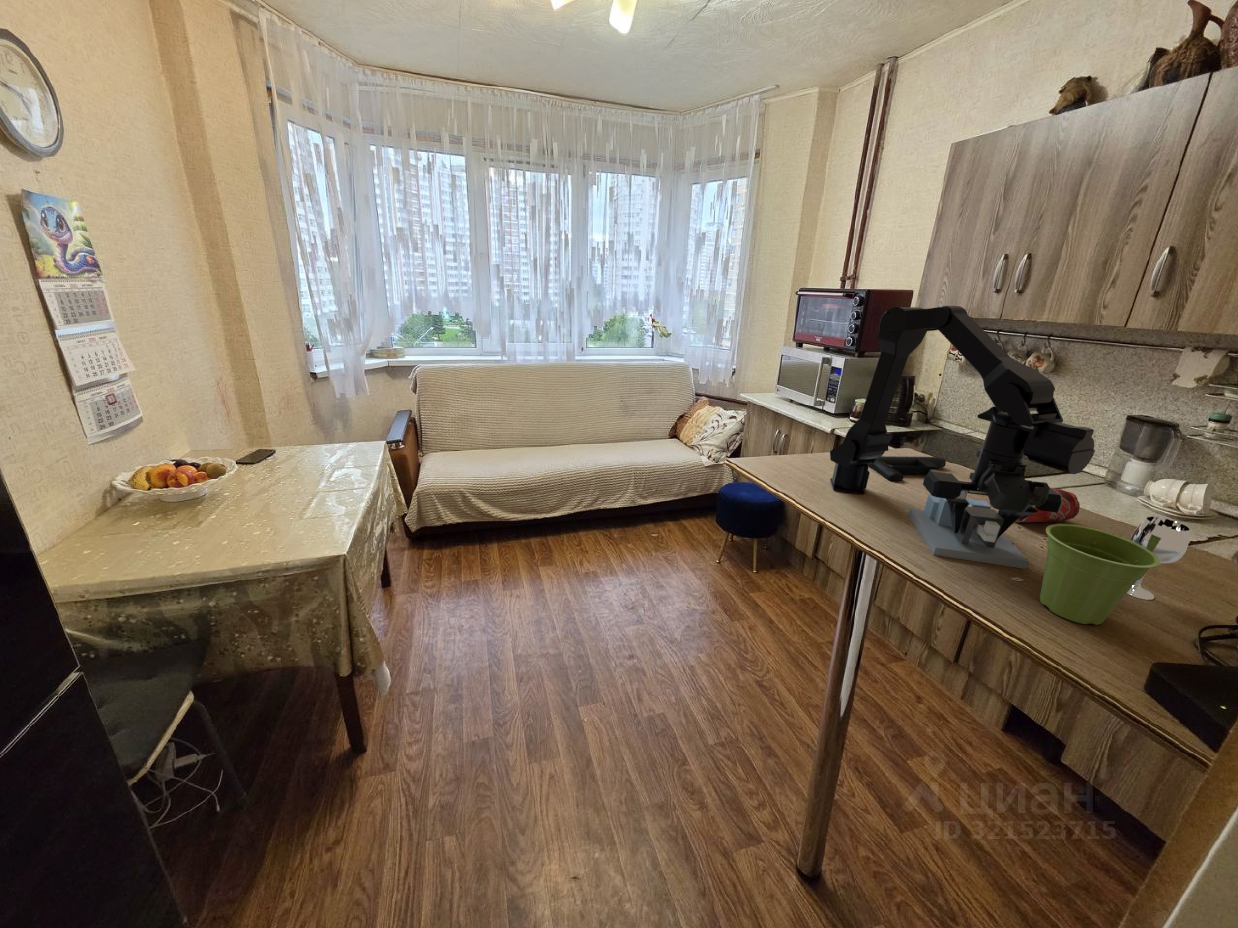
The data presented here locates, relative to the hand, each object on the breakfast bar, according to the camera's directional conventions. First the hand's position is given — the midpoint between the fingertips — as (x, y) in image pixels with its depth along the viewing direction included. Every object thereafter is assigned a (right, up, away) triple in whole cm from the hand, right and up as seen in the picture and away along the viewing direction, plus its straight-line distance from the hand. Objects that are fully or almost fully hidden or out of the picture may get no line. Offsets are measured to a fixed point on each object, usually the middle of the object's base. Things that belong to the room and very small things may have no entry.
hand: (974, 535), depth 87 cm
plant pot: (+4, -9, -14) cm, 17 cm away
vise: (+1, -1, +5) cm, 5 cm away
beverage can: (+22, +1, +14) cm, 26 cm away
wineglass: (+19, -8, -9) cm, 22 cm away
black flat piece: (+11, +9, +35) cm, 38 cm away
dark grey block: (0, -1, 0) cm, 1 cm away
